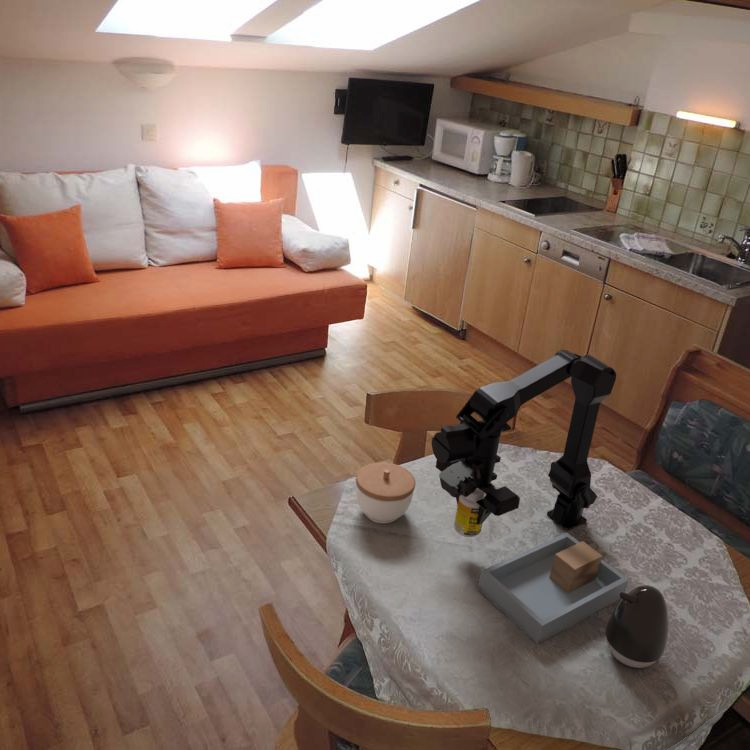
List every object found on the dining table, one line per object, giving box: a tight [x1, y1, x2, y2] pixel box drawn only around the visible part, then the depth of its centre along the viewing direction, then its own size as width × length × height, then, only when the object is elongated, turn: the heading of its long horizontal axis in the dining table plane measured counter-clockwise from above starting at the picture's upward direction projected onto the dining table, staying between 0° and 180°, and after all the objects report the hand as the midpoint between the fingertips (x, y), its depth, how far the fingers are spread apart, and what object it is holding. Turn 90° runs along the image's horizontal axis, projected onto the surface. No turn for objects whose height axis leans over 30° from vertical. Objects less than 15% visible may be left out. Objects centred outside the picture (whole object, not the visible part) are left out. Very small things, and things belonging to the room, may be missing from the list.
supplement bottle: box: [453, 489, 485, 538], centre depth 151 cm, size 6×6×10 cm
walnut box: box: [549, 540, 603, 593], centre depth 148 cm, size 8×5×6 cm, turn 125°
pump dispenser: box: [604, 584, 670, 669], centre depth 131 cm, size 10×10×15 cm
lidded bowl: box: [355, 461, 416, 524], centre depth 162 cm, size 13×13×11 cm
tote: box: [477, 532, 630, 645], centre depth 146 cm, size 24×16×4 cm, turn 125°
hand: (469, 515), depth 152 cm, fingers closed on supplement bottle, 6 cm apart
